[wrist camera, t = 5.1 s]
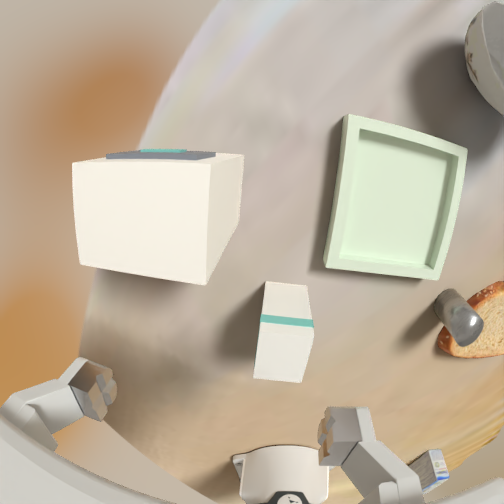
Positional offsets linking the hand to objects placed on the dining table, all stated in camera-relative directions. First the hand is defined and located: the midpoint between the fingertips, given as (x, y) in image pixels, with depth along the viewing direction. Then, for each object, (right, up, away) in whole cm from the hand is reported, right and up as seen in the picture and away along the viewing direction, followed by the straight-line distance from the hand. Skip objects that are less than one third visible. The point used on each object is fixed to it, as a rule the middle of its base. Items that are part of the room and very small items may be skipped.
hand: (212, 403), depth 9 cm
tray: (+15, +10, +14) cm, 23 cm away
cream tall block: (-3, +11, +15) cm, 19 cm away
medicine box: (+39, -40, +31) cm, 63 cm away
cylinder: (+24, 0, +17) cm, 29 cm away
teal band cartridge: (+5, 0, +19) cm, 20 cm away
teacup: (+27, +24, +8) cm, 37 cm away
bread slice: (+35, -4, +18) cm, 40 cm away
